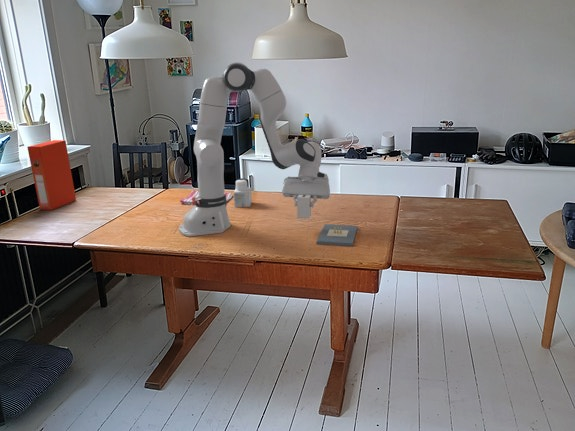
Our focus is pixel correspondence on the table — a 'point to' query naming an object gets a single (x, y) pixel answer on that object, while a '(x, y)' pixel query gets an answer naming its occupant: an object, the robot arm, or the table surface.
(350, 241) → the header board
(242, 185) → the container
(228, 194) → the dish towel
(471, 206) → the table surface
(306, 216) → the block
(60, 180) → the file binder
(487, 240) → the table surface
